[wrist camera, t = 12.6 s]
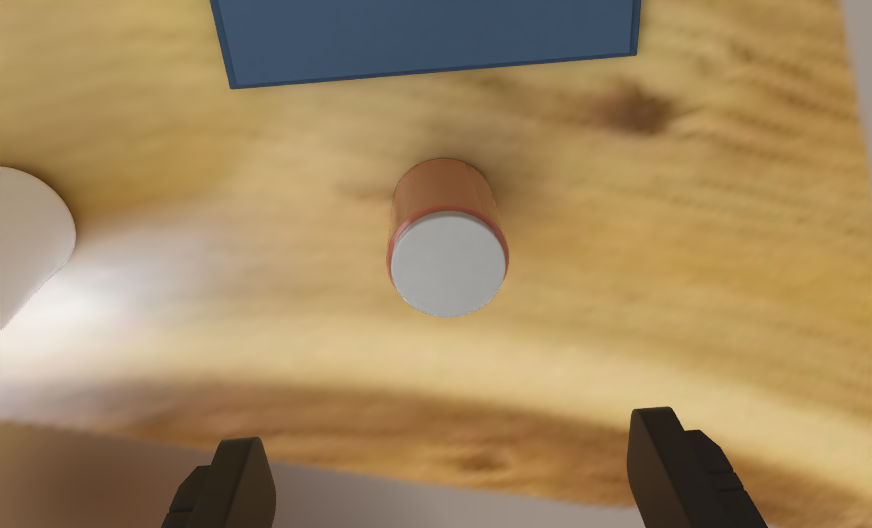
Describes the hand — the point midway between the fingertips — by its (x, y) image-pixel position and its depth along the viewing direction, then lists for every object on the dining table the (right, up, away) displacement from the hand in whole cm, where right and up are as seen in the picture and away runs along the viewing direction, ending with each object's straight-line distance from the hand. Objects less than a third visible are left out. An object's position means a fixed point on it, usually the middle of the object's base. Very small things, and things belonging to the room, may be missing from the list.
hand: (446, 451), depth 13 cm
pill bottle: (0, +7, +14) cm, 16 cm away
